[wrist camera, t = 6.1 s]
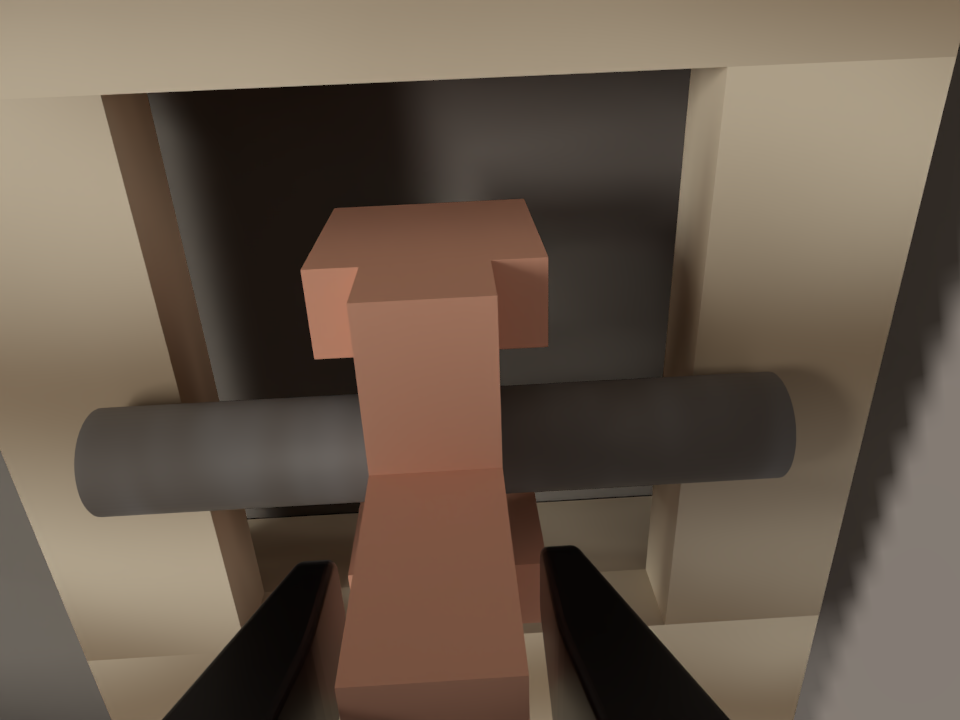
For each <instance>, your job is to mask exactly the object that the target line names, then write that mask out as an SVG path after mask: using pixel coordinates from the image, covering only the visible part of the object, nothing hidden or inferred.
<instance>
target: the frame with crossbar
mask: <svg viewBox="0 0 960 720" xmlns="http://www.w3.org/2000/svg"><path fill="white" fill-rule="evenodd" d="M959 44H960V0H0V450H1V453H2V455H3V458H4V460H5V462H6V465H7V467H8V470H9V472H10V475H11V477H12V479H13V482H14V484H15V487H16V489H17V492H18V494H19V496H20V499H21V501H22V504H23V506H24V509H25V511H26V513H27V516H28V518H29V521H30V523H31V526H32V528H33V530H34V533H35V535H36V538H37V540H38V543H39V545H40V547H41V550H42V552H43V555H44V557H45V560H46V562H47V564H48V567H49V569H50V572H51V574H52V577H53V579H54V581H55V584H56V586H57V589H58V591H59V594H60V596H61V598H62V601H63V603H64V606H65V608H66V610H67V613H68V615H69V618H70V620H71V623H72V625H73V627H74V630H75V632H76V635H77V637H78V640H79V642H80V644H81V647H82V649H83V652H84V654H85V657H86V659H87V661H88V664H89V666H90V669H91V671H92V674H93V676H94V678H95V681H96V683H97V686H98V688H99V691H100V693H101V695H102V698H103V700H104V703H105V705H106V708H107V710H108V712H109V715H110V717H111V720H162V719H163V718H164V717H165V715H166V714H167V713H168V712H169V711H170V710H171V708H172V707H173V706H174V705H175V704H176V703H177V701H178V700H179V699H180V698H181V697H182V696H183V695H184V693H185V692H186V691H187V690H188V689H189V688H190V686H191V685H192V684H193V683H194V682H195V681H196V680H197V678H198V677H199V676H200V675H201V674H202V673H203V671H204V670H205V669H206V668H207V667H208V666H209V665H210V663H211V662H212V661H213V660H214V659H215V658H216V656H217V655H218V654H219V653H220V652H221V651H222V650H223V648H224V647H225V646H226V645H227V644H228V643H229V641H230V640H231V639H232V638H233V637H234V636H235V635H236V633H237V632H238V631H239V630H240V629H241V628H242V626H243V625H244V624H245V623H246V622H247V621H248V620H249V618H250V617H251V616H252V615H253V614H254V613H255V611H256V610H257V609H258V608H259V607H260V606H261V605H262V603H263V602H264V601H265V600H266V599H267V598H268V596H269V595H270V594H271V593H272V592H273V591H274V589H275V588H276V587H277V586H278V585H279V584H280V583H281V581H282V580H283V579H284V578H285V577H286V576H287V574H288V573H289V572H290V571H291V570H292V569H293V568H294V566H296V565H297V564H298V563H300V562H303V561H317V560H331V561H333V562H335V564H336V566H337V569H338V574H339V580H340V586H341V592H342V598H343V604H344V610H345V620H346V613H347V607H348V601H349V595H350V586H349V579H348V572H349V566H350V560H351V554H352V548H353V542H354V536H355V531H356V525H357V519H358V513H351V514H334V515H317V516H300V517H283V518H266V519H249V520H247V516H246V512H245V509H251V508H268V507H286V506H303V505H320V504H337V503H354V502H365V496H366V489H367V483H368V477H369V474H368V466H367V458H366V450H365V443H364V435H363V427H362V419H361V412H360V404H359V396H358V394H347V395H329V396H310V397H292V398H274V399H255V400H237V401H219V398H218V393H217V389H216V385H215V381H214V376H213V372H212V368H211V364H210V359H209V355H208V351H207V347H206V342H205V338H204V334H203V330H202V325H201V321H200V317H199V313H198V308H197V304H196V300H195V296H194V291H193V287H192V283H191V279H190V274H189V270H188V266H187V262H186V257H185V253H184V249H183V245H182V240H181V236H180V232H179V228H178V223H177V219H176V215H175V211H174V206H173V202H172V198H171V194H170V189H169V185H168V181H167V177H166V172H165V168H164V164H163V160H162V155H161V151H160V147H159V143H158V138H157V134H156V130H155V126H154V121H153V117H152V113H151V109H150V104H149V100H148V96H147V93H155V92H178V91H200V90H222V89H245V88H267V87H289V86H312V85H334V84H356V83H379V82H401V81H423V80H446V79H468V78H490V77H513V76H535V75H558V74H580V73H602V72H625V71H647V70H669V69H691V74H690V85H689V96H688V107H687V118H686V129H685V140H684V151H683V163H682V174H681V185H680V196H679V207H678V218H677V229H676V240H675V251H674V262H673V273H672V284H671V295H670V306H669V317H668V328H667V339H666V350H665V361H664V373H663V377H658V378H640V379H621V380H603V381H585V382H567V383H548V384H530V385H512V386H500V397H501V430H502V463H503V474H504V482H505V490H506V494H509V493H527V492H544V491H561V490H578V489H596V488H613V487H630V486H647V485H653V494H652V496H642V497H625V498H608V499H591V500H574V501H557V502H540V503H536V504H537V509H538V515H539V520H540V525H541V531H542V536H543V541H544V547H548V546H565V545H573V546H576V547H578V548H579V549H580V550H581V551H582V552H583V554H584V555H585V556H586V557H587V558H588V559H589V560H590V561H591V563H592V564H593V565H594V566H595V567H596V568H597V569H598V571H599V572H600V573H601V574H602V575H603V576H604V577H605V578H606V580H607V581H608V582H609V583H610V584H611V585H612V586H613V588H614V589H615V590H616V591H617V592H618V593H619V594H620V595H621V597H622V598H623V599H624V600H625V601H626V602H627V603H628V604H629V606H630V607H631V608H632V609H633V610H634V611H635V612H636V614H637V615H638V616H639V617H640V618H641V619H642V620H643V621H644V623H645V624H646V625H647V626H648V627H649V628H650V629H651V630H652V632H653V633H654V634H655V635H656V636H657V637H658V638H659V640H660V641H661V642H662V643H663V644H664V645H665V646H666V647H667V649H668V650H669V651H670V652H671V653H672V654H673V655H674V657H675V658H676V659H677V660H678V661H679V662H680V663H681V664H682V666H683V667H684V668H685V669H686V670H687V671H688V672H689V673H690V675H691V676H692V677H693V678H694V679H695V680H696V681H697V683H698V684H699V685H700V686H701V687H702V688H703V689H704V690H705V692H706V693H707V694H708V695H709V696H710V697H711V698H712V700H713V701H714V702H715V703H716V704H717V705H718V706H719V707H720V709H721V710H722V711H723V712H724V713H725V714H726V715H727V716H728V718H729V719H730V720H793V719H794V715H795V711H796V707H797V703H798V699H799V695H800V691H801V686H802V682H803V678H804V674H805V670H806V666H807V662H808V658H809V654H810V650H811V646H812V642H813V638H814V634H815V630H816V626H817V621H818V617H819V613H820V609H821V605H822V601H823V597H824V593H825V589H826V585H827V581H828V577H829V573H830V569H831V565H832V560H833V556H834V552H835V548H836V544H837V540H838V536H839V532H840V528H841V524H842V520H843V516H844V512H845V508H846V504H847V500H848V495H849V491H850V487H851V483H852V479H853V475H854V471H855V467H856V463H857V459H858V455H859V451H860V447H861V443H862V439H863V435H864V430H865V426H866V422H867V418H868V414H869V410H870V406H871V402H872V398H873V394H874V390H875V386H876V382H877V378H878V374H879V369H880V365H881V361H882V357H883V353H884V349H885V345H886V341H887V337H888V333H889V329H890V325H891V321H892V317H893V313H894V309H895V304H896V300H897V296H898V292H899V288H900V284H901V280H902V276H903V272H904V268H905V264H906V260H907V256H908V252H909V248H910V244H911V239H912V235H913V231H914V227H915V223H916V219H917V215H918V211H919V207H920V203H921V199H922V195H923V191H924V187H925V183H926V178H927V174H928V170H929V166H930V162H931V158H932V154H933V150H934V146H935V142H936V138H937V134H938V130H939V126H940V122H941V118H942V113H943V109H944V105H945V101H946V97H947V93H948V89H949V85H950V81H951V77H952V73H953V69H954V65H955V61H956V57H957V53H958V48H959ZM523 632H524V639H525V647H526V655H527V663H528V671H529V706H530V720H553V718H552V709H551V701H550V692H549V683H548V675H547V666H546V657H545V649H544V640H543V631H542V623H541V622H540V623H524V624H523ZM339 720H340V716H339Z"/></svg>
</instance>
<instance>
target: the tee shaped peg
mask: <svg viewBox="0 0 960 720" xmlns="http://www.w3.org/2000/svg"><path fill="white" fill-rule="evenodd" d="M300 271H301V277H302V283H303V290H304V296H305V303H306V309H307V316H308V322H309V328H310V335H311V341H312V348H313V354H314V359H331V358H350V357H354V365H355V373H356V381H357V388H358V396H359V404H360V412H361V419H362V427H363V435H364V443H365V450H366V458H367V466H368V474H369V477H368V483H367V489H366V496H365V502H360V507H359V513H358V519H357V525H356V531H355V536H354V542H353V548H352V554H351V560H350V566H349V572H348V579H349V586H350V595H349V601H348V607H347V613H346V620H345V626H344V632H343V638H342V644H341V651H340V657H339V663H338V669H337V675H336V682H335V688H334V689H335V694H336V700H337V705H338V711H339V716H340V720H530V706H529V671H528V663H527V655H526V647H525V639H524V632H523V624H524V623H540V622H541V612H540V552H541V550H542V549H543V548H544V541H543V536H542V531H541V525H540V520H539V515H538V509H537V504H536V498H535V493H534V492H527V493H509V494H506V490H505V482H504V474H503V463H502V430H501V397H500V364H499V349H515V348H534V347H548V255H547V253H546V250H545V248H544V246H543V243H542V241H541V238H540V236H539V234H538V231H537V229H536V226H535V224H534V222H533V219H532V217H531V215H530V212H529V210H528V207H527V205H526V203H525V200H524V199H508V200H488V201H468V202H448V203H427V204H407V205H387V206H367V207H347V208H334V210H333V212H332V213H331V215H330V217H329V219H328V221H327V222H326V224H325V226H324V228H323V230H322V232H321V233H320V235H319V237H318V239H317V241H316V243H315V244H314V246H313V248H312V250H311V252H310V253H309V255H308V257H307V259H306V261H305V263H304V264H303V266H302V268H301V270H300Z"/></svg>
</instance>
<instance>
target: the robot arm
mask: <svg viewBox="0 0 960 720" xmlns="http://www.w3.org/2000/svg"><path fill="white" fill-rule="evenodd" d="M540 612H541V623H542V631H543V640H544V649H545V657H546V666H547V675H548V683H549V692H550V701H551V709H552V718H553V720H730V719H729V718H728V716H727V715H726V714H725V713H724V712H723V711H722V710H721V709H720V707H719V706H718V705H717V704H716V703H715V702H714V701H713V700H712V698H711V697H710V696H709V695H708V694H707V693H706V692H705V690H704V689H703V688H702V687H701V686H700V685H699V684H698V683H697V681H696V680H695V679H694V678H693V677H692V676H691V675H690V673H689V672H688V671H687V670H686V669H685V668H684V667H683V666H682V664H681V663H680V662H679V661H678V660H677V659H676V658H675V657H674V655H673V654H672V653H671V652H670V651H669V650H668V649H667V647H666V646H665V645H664V644H663V643H662V642H661V641H660V640H659V638H658V637H657V636H656V635H655V634H654V633H653V632H652V630H651V629H650V628H649V627H648V626H647V625H646V624H645V623H644V621H643V620H642V619H641V618H640V617H639V616H638V615H637V614H636V612H635V611H634V610H633V609H632V608H631V607H630V606H629V604H628V603H627V602H626V601H625V600H624V599H623V598H622V597H621V595H620V594H619V593H618V592H617V591H616V590H615V589H614V588H613V586H612V585H611V584H610V583H609V582H608V581H607V580H606V578H605V577H604V576H603V575H602V574H601V573H600V572H599V571H598V569H597V568H596V567H595V566H594V565H593V564H592V563H591V561H590V560H589V559H588V558H587V557H586V556H585V555H584V554H583V552H582V551H581V550H580V549H579V548H578V547H576V546H573V545H565V546H548V547H544V548H543V549H542V550H541V552H540ZM344 626H345V610H344V604H343V598H342V592H341V586H340V580H339V574H338V569H337V566H336V564H335V562H333V561H331V560H317V561H303V562H300V563H298V564H297V565H296V566H294V568H293V569H292V570H291V571H290V572H289V573H288V574H287V576H286V577H285V578H284V579H283V580H282V581H281V583H280V584H279V585H278V586H277V587H276V588H275V589H274V591H273V592H272V593H271V594H270V595H269V596H268V598H267V599H266V600H265V601H264V602H263V603H262V605H261V606H260V607H259V608H258V609H257V610H256V611H255V613H254V614H253V615H252V616H251V617H250V618H249V620H248V621H247V622H246V623H245V624H244V625H243V626H242V628H241V629H240V630H239V631H238V632H237V633H236V635H235V636H234V637H233V638H232V639H231V640H230V641H229V643H228V644H227V645H226V646H225V647H224V648H223V650H222V651H221V652H220V653H219V654H218V655H217V656H216V658H215V659H214V660H213V661H212V662H211V663H210V665H209V666H208V667H207V668H206V669H205V670H204V671H203V673H202V674H201V675H200V676H199V677H198V678H197V680H196V681H195V682H194V683H193V684H192V685H191V686H190V688H189V689H188V690H187V691H186V692H185V693H184V695H183V696H182V697H181V698H180V699H179V700H178V701H177V703H176V704H175V705H174V706H173V707H172V708H171V710H170V711H169V712H168V713H167V714H166V715H165V717H164V718H163V719H162V720H339V711H338V705H337V700H336V694H335V689H334V688H335V682H336V675H337V669H338V663H339V657H340V651H341V644H342V638H343V632H344Z"/></svg>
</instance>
